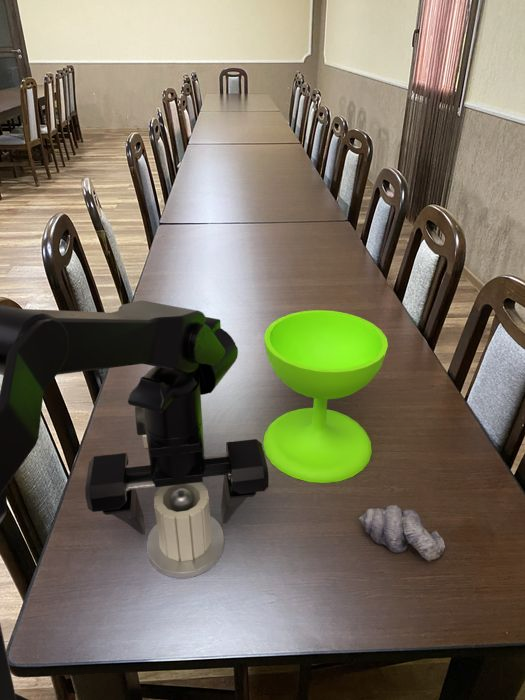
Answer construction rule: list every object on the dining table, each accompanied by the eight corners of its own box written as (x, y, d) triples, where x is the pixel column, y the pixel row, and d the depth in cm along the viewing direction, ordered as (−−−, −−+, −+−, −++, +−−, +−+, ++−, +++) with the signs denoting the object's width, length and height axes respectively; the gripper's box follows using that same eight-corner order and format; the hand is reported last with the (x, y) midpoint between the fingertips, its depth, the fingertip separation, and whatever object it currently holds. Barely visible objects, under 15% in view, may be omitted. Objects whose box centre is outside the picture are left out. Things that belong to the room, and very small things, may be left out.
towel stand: (147, 584, 59) (138, 529, 55) (147, 520, 67) (140, 468, 62) (228, 572, 61) (226, 518, 56) (220, 511, 68) (217, 459, 64)
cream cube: (160, 438, 80) (158, 425, 79) (159, 447, 78) (157, 434, 77) (145, 438, 80) (143, 425, 79) (144, 448, 78) (142, 435, 77)
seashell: (441, 560, 64) (357, 537, 67) (448, 515, 64) (365, 494, 67) (442, 571, 59) (352, 546, 62) (450, 522, 59) (360, 499, 62)
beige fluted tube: (160, 564, 60) (153, 521, 57) (159, 522, 65) (153, 480, 62) (213, 557, 61) (210, 514, 57) (208, 516, 66) (206, 474, 63)
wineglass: (325, 398, 89) (334, 300, 79) (395, 455, 77) (414, 348, 68) (242, 432, 81) (241, 328, 72) (305, 500, 70) (314, 387, 61)
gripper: (253, 368, 62) (253, 468, 70) (86, 383, 59) (106, 485, 67) (270, 430, 53) (268, 537, 61) (73, 450, 50) (98, 560, 58)
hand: (184, 526), depth 62 cm, fingers open, 9 cm apart
